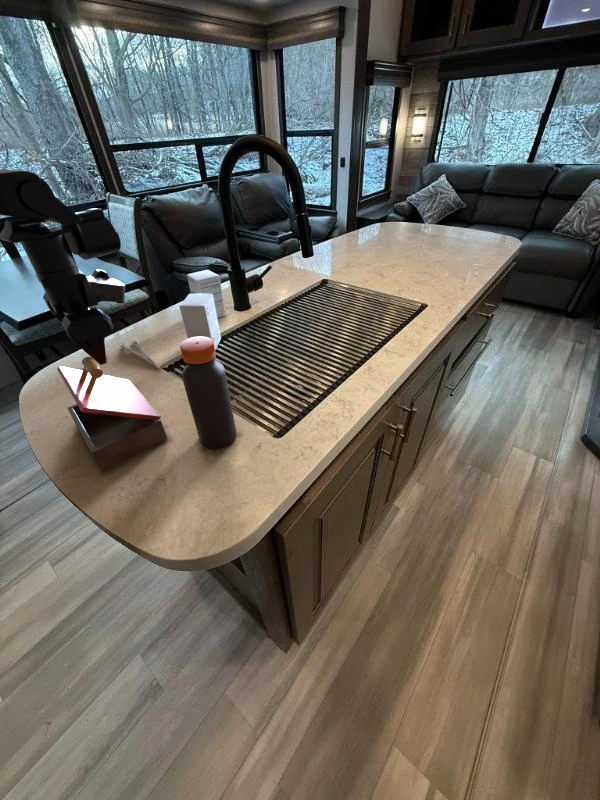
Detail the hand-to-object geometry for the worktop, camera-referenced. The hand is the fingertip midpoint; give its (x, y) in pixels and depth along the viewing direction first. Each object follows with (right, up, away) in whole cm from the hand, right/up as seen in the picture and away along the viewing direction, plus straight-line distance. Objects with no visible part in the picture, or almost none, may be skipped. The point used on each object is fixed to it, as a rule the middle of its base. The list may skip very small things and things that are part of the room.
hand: (95, 354), depth 61 cm
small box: (+13, +6, +28) cm, 32 cm away
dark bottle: (+23, -16, +1) cm, 28 cm away
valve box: (+4, -15, +2) cm, 15 cm away
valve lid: (+4, -8, -3) cm, 9 cm away
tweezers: (-3, +2, +24) cm, 25 cm away
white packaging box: (+9, +18, +44) cm, 49 cm away
